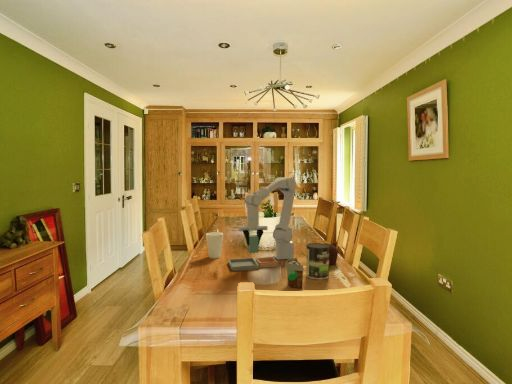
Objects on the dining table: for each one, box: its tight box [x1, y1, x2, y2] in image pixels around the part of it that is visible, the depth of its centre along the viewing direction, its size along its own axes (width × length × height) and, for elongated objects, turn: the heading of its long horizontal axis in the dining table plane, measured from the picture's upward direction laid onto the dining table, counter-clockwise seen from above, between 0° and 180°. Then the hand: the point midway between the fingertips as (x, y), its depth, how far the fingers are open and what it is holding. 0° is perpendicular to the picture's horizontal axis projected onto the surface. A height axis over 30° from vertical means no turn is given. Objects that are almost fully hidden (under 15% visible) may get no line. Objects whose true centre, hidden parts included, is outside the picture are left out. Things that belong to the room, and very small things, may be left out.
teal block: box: [247, 234, 259, 254], centre depth 168 cm, size 4×4×8 cm
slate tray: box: [227, 257, 260, 272], centre depth 168 cm, size 13×14×2 cm
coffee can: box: [305, 242, 330, 281], centre depth 152 cm, size 10×10×14 cm
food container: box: [284, 257, 304, 290], centre depth 140 cm, size 12×6×10 cm, turn 5°
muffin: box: [324, 243, 339, 267], centre depth 172 cm, size 12×11×10 cm
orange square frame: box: [255, 256, 279, 269], centre depth 171 cm, size 9×9×2 cm
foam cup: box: [205, 231, 224, 259], centre depth 185 cm, size 10×9×13 cm
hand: (253, 244), depth 168 cm, fingers closed on teal block, 4 cm apart
